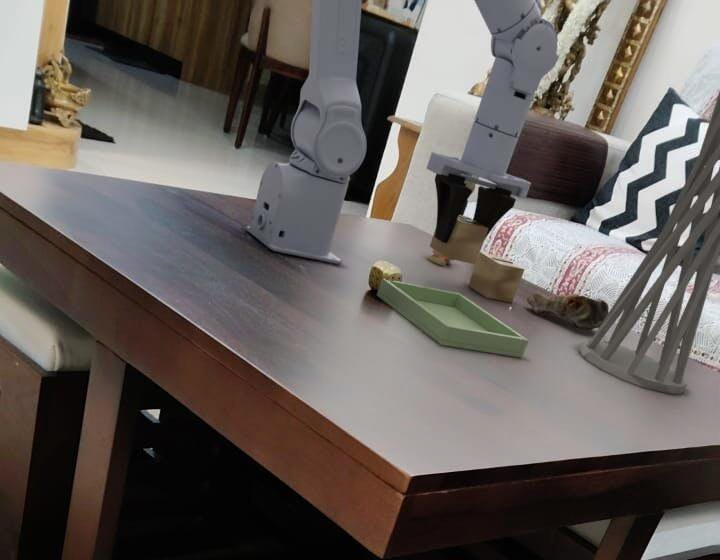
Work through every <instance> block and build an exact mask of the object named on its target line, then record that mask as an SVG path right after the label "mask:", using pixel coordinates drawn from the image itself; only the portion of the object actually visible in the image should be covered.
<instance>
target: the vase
mask: <svg viewBox="0 0 720 560" xmlns="http://www.w3.org/2000/svg"><path fill="white" fill-rule="evenodd" d="M719 159H720V90H719V91H718V94H717V98H716V101H715V103H714V107H713V110H712V113H711V117H710V120H709V123H708V126H707V129H706V133H705V135H704V137H703V142H702V145H701V147H700V151H699V154H698V156H697V158H696V160H695V162H694V165H693V167H692V169H691V170H690V173H689V175H688V176H687V179H686V181H685V183H684V185H683V187H682V189H681V191H680V194H679V195H678V197H677V199H676V202H675V204H674V205H673V207H672V210H671V211H670V214H669V217H668V218H667V220H666V222H665V224H664V227H663V228H662V230H661V232H660V234H659V235H658V237H657V238H656V240H655V241H654V243H653V244H652V246H651V248H650V249H649V250H648V252H647V253H646V255H645V257H644V258H643V260H642V261H641V262H640V263H639V265H638V267H637V268H636V270H635V272H634V273H633V275H632V276H631V278H630V279H629V281H628V282H627V284H626V285H625V287H624V288H623V290H622V292H621V293H620V294H619V295H618V298H617V299H616V301H615V302H614V304H613V305H612V307H611V308H610V310H609V311H608V314H607V316H606V317H605V319H604V320H603V322H602V324H601V325H600V327H599V328H597V330H596V331H595V333H594V334H593V335H592V337H591V338H590V339H587V340H583V341H582V342H581V344H580V346H579V348H578V352H579V353H580V354H581V357H583V358H584V359H585V360H586V361H588V362H590V363H591V364H592V365H594V366H596V367H597V368H599V369H600V370H602V371H604V372H606V373H608V374H610V375H613V376H615V377H616V378H619V379H621V380H623V381H625V382H629V383H631V384H634V385H636V386H639V387H642V388H644V389H649V390H653V391H657V392H661V393H665V394H669V395H679V394H680V395H681V394H682V393H683V392H684V390H685V389H686V387H687V385H688V383H687V381H686V380H685V378H684V375H685V372H686V369H687V365H688V362H689V358H690V354H691V351H692V347H693V344H694V341H695V337H696V334H697V330H698V327H699V323H700V320H701V316H702V313H703V309H704V305H705V303H706V299H707V296H708V292H709V289H710V285H711V282H712V278H713V275H714V273H715V272H714V271H715V270H716V269H715V268H716V265H717V261H718V258H719V256H720V215H719V214H720V166H719V168H718V171H717V172H716V173H715V175H714V177H713V173H714V169H715V166H716V165H717V163H718V161H719ZM712 177H713V178H712ZM697 193H698V194H697ZM696 195H697V199H696V200H695V201H694V197H695V196H696ZM710 199H711V204H710V207H709V208H708V210H707V211H706V212H704V211H705V208H706V204H707V203H708V201H709V200H710ZM704 213H705V214H704ZM689 226H690V229H689V233H688V237H687V238H686V239H685V241H684V242H683V244H681V246H680V247H679V249H678V246H679V243H680V240H681V237H682V235H683V234H684V232H685V231H686V230H687V229H688V228H689ZM703 233H704V237H703V241H702V246H701V247H700V248H699V250H698V251H697V254H696V255H695V251H696V246H697V243H698V240H699V238H700V237H701V235H703ZM677 249H678V250H677ZM694 255H695V257H694ZM664 259H665V260H664ZM663 260H664V263H663V265H662V269H661V271H660V274H659V276H658V277H657V278H656V280H654V283H653V284H652V285H651V287H650V288H649V289H648V290H647V292H646V294H644V296H643V297H642V295H643V293H644V290H645V289H646V287H647V285H648V283H649V280H650V279H651V276H653V275H652V274H653V273H654V271H655V270H656V269H657V267H658V266H659V265H660V264H661V262H662V261H663ZM681 263H682V264H681ZM680 264H681V268H680V272H679V277H678V281H677V285H676V288H675V290H674V291H673V293H672V295H671V296H670V298H669V300H668V301H667V303H666V305H665V307H664V308H663V310H662V312H661V313H660V315H659V317H658V318H657V320H656V322H655V324H654V325H653V326H652V324H653V321H654V318H655V316H656V312H657V309H658V306H659V303H660V301H661V297H662V294H663V292H664V288H665V285H666V283H667V282H668V281H669V279H670V278H671V276H672V275H673V274H674V272H675V271H676V269H677V268H678V267H679V265H680ZM694 275H695V278H694V283H693V288H692V292H691V293H690V296H689V298H688V301H687V303H686V305H685V308H684V310H683V312H682V314H681V311H682V307H683V303H684V298H685V294H686V289H687V287H688V285H689V283H690V282H691V280H692V279H693V277H694ZM641 298H642V299H641ZM640 299H641V300H640ZM649 306H650V307H649ZM648 307H649V309H648ZM647 309H648V312H647V315H646V319H645V322H644V325H643V328H642V331H641V334H640V337H639V340H638V343H637V345H636V349H635V350H633V349H631V348H629V347H626V346H624V345H621V344H622V343H623V341H624V340H625V339H626V337H627V336H628V334H629V333H630V332H631V330H632V329H633V328H634V326H635V325H636V324H637V323H638V321H639V320H640V318H641V317H642V315H643V314H644V313H645V311H646V310H647ZM680 315H681V317H680ZM668 318H669V321H668V325H667V328H666V334H665V337H664V341H663V347H662V350H661V355H660V360H657V359H654V358H652V357H650V356H648V355H646V354H647V352H648V350H649V349H650V347H651V345H652V344H653V342H654V341H655V339H656V337H657V336H658V333H659V332H660V330H661V329H662V327H663V326H664V324H665V322H666V321H667V319H668ZM679 318H680V319H679ZM618 319H619V320H618ZM617 320H618V321H617ZM616 321H617V324H616V326H615V328H614V330H613V332H612V334H611V337H610V338H609V340H608V341H607V340H602V339H603V338H604V337H605V336H606V334H607V333H608V332H609V330H610V328H612V327H613V325H614V324H615V322H616ZM651 327H652V328H651ZM679 347H680V348H679ZM678 350H679V353H678V357H677V363H676V368H675V370H674V369H672V368H671V366H672V365H673V364H672V363H673V361H674V358H675V357H676V354H677V352H678Z"/></svg>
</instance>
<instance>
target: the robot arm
mask: <svg viewBox="0 0 720 560" xmlns="http://www.w3.org/2000/svg"><path fill="white" fill-rule="evenodd" d="M473 1H474V3H475V5H476V6H477V9H478V11H479V13H480V15H481V17H482V19H483V21H484V24H485V25H486V28H487V29H488V31H489V34H490V35H491V39H490V50H491V55H492V57H494V61H493V64H492V67H491V70H490V72H489V75H488V79H487V81H486V85H485V87H484V89H483V93H482V95H481V99H480V102H479V105H478V108H477V111H476V114H475V117H474V120H473V122H472V125H471V128H470V132H469V133H468V138H467V141H466V144H465V146H464V149H463V152H462V155H461V158H459V157H454V156H450V155H446V154H442V153H438V152H435V151H434V152H433V151H431V153H430V156H429V159H428V162H427V165H426V170H428V171H431V172H432V173H434V174H435V177H434V184H435V190H436V201H437V202H436V203H437V205H436V206H437V208H436V209H437V211H436V223H435V224H436V225H435V229H436V232H435V231H434V232H435V238H437V239H438V240H440V241H441V242H444V243H447V242H448V240H449V238H450V236H451V234H452V232H453V229H454V226H455V224H456V221H457V218H458V216H459V214H460V212H461V210H462V208H463V206H464V204H465V203H466V201H467V200H469V198H470V197H471V195H472V194H473V193H472V190H471V189H469V188H468V187H466V183H464V182H465V181H467V182H471V183H474V184H475V185H478V188H477V196H476V197H477V198H476V204H475V210H474V213H473V218H472V219H473V220H475V221H476V222H478V223H480V224H482V225H483V226H485V227H487V228H488V231H487V234H486V237H485V239H487V237H488V235H489V234H490V232H491V231H492V230H493V229H494V227H495V226H496V224H498V222H499V221H500V220H501V219H502V218H503V217H504V216H505V215H506V214H507V213H508V212H509V211H510V210H511V209H513V208H514V206H515V203H516V201H517V199H516V198H514V197H513V196H511V195H514V196H516V197H518V198H521V199H526V198H527V195H528V193H529V190H530V187H531V185H532V183H531V182H530V181H528V180H526V179H524V178H521V177H518V176H514V175H511V174H509V173H507V171H508V168H509V165H510V162H511V160H512V158H513V155H514V151H515V149H516V146H517V143H518V141H519V137H520V136H521V133H522V130H523V127H524V124H525V122H526V119H527V116H528V114H529V110H530V108H531V105H532V102H533V99H534V97H535V94H536V91H537V92H538V88H539V85H540V83H541V82H542V79H543V78H544V77H545V76H547V74H549V73H550V72H551V71H552V70H553V69H554V68H555V66H556V64H557V63H558V61H559V58H560V56H559V54H558V53H557V52H558V42H559V39H558V34H557V30H556V29H555V26H554V25H553V24H552V23H551V22H550V21H549V20H546V19H545V18H541V10H543V4H542V2H541V0H473ZM362 3H363V0H312V5H311V6H312V7H311V23H310V24H311V25H310V27H311V28H310V47H309V67H308V68H309V70H308V76H307V78H306V79H305V82H304V83H303V85H302V87H301V88H300V92H299V93H300V94H299V105H298V108H297V110H296V113H295V114H294V116H293V118H292V122H291V126H290V139H291V141H292V145H293V147H294V150H293V152H292V153H291V155H290V156H289V161H288V162H286V163H283V162H279V161H273V162H271V163H269V164H268V165H267V166H266V167H265V169H264V171H263V173H262V176H261V179H260V182H259V187H258V190H257V195H256V198H255V203H254V208H253V212H252V215H251V219H250V224H249V225H247V226H246V231H248V232H249V234H251V235H252V236H253V237H255V238H256V239H257V240H258V241H260V242H261V243H262V244H263V245H264V246H266V247H267V248H268V249H270V251H272V252H276V253H281V254H287V255H291V256H297V257H301V258H307V259H311V260H317V261H322V262H327V263H330V264H336V265H341V264H342V259H340V258H339V257H338V256H336V255H335V254H333V253H332V252H331V251H330V250H331V248H332V244H333V241H334V240H333V239H334V236H335V232H336V229H337V225H338V222H339V220H340V219H339V218H340V216H341V211H342V208H343V204H344V201H345V197H346V194H347V190H348V187H349V182H350V180H351V177H350V176H351V175H352V174H353V173H355V172H356V171H358V169H359V168H360V166H361V165H362V163H363V162H364V159H365V157H366V153H367V148H368V147H367V143H368V142H367V137H366V134H365V131H364V128H363V125H362V102H361V97H360V94H359V89H358V85H357V71H358V57H359V47H360V46H359V45H360V31H361V17H362ZM461 174H464V175H461ZM465 175H466V176H465ZM472 175H475V176H478V177H479V179H475V178H472V177H471V176H472ZM468 176H469V177H468ZM480 178H482V179H484V180H482V179H480ZM485 180H487V181H485ZM471 193H472V194H471Z"/></svg>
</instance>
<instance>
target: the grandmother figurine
mask: <svg viewBox="0 0 720 560" xmlns="http://www.w3.org/2000/svg"><path fill="white" fill-rule="evenodd" d="M461 175H464V174H461ZM465 176H466V175H465ZM468 177H469V176H468ZM471 177H472V178H475V179H479V180H480V177H478V176H475V175H472V176H471ZM464 183H466V187H468V188H469V189H471V190H472V193H471V195H472V194H473V193H474V192H475V189H476V184H474V183H471V182H467V181H465V182H464ZM468 204H469V199H467V201H466V203H465V204H464V206H463V208H462V210H461V212H460V214H459V215H462V216H465V215H464V214H465V212H466V210H467V207H468ZM431 252H432V254H430V255H429V256H428V257H427V259H428V260H429V261H431V262H432V263H434V264H437V265H439V266H442V267H443V266H446V265H451V261H455V260H454V259H450V258H447V257H445V256H444V255H442V254H441V253H439V252H438V251H436V250H435V249H433V248H432V251H431Z"/></svg>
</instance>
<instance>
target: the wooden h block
mask: <svg viewBox="0 0 720 560" xmlns="http://www.w3.org/2000/svg"><path fill="white" fill-rule="evenodd" d="M487 231H488V228H487V227H485V226H483V225H482V224H480V223H478V222H476V221H475V220H473V218H471V217H469V216H466V215H463V216H462V215H459V216H458V218H457V221H456V224H455V226H454V229H453V232H452V234H451V236H450V238H449V240H448V242H447V243H444V242H441V241H440V240H438V239H437V238H435V232H436V228H435V229H434V232H433V236H432V237H431V238H432V239H431V241H430V244H429V247H430V248H431V249H432V250H433V249H435V250H436V251H438V252H439V253H441V254H442V255H444V256H445V257H447V258H450V259H454V260H453V261H458V262H463V263H468V264H471V265H476V262H477V259H478V257H479V254H480V252H482V251H481V250H482V249H483V248H482V247H483V245H484V242H485V240H486V238H487V237H486V234H487ZM485 237H486V238H485Z"/></svg>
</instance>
